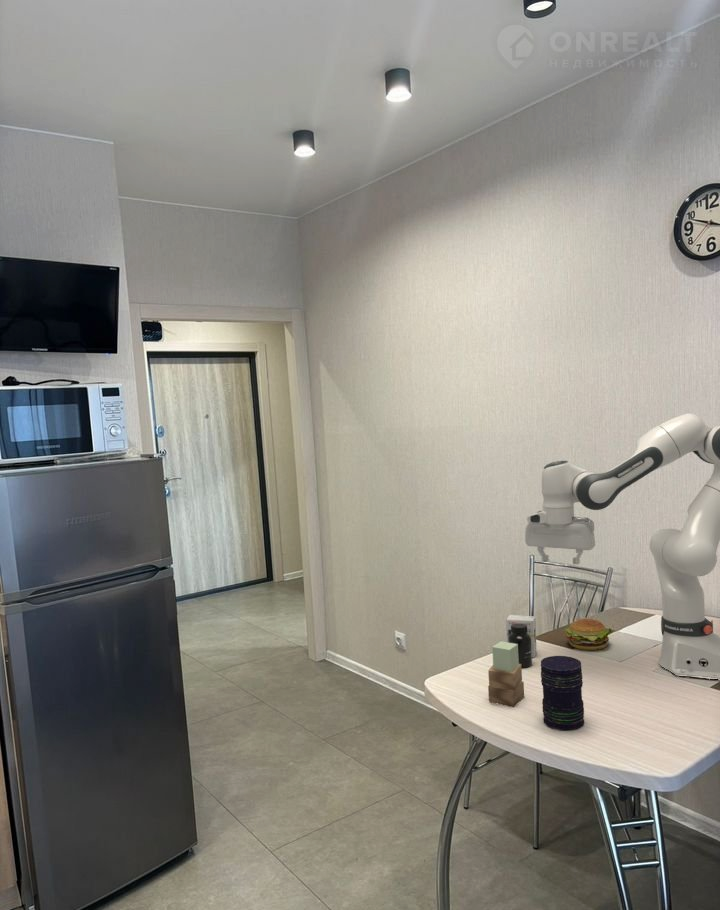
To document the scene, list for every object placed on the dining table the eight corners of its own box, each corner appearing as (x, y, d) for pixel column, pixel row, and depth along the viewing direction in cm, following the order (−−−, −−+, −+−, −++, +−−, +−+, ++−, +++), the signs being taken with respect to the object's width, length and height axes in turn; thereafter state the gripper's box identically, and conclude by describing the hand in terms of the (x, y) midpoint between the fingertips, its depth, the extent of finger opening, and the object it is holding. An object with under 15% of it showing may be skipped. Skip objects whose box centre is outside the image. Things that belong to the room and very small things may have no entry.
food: (557, 647, 223) (556, 623, 223) (577, 635, 234) (576, 611, 233) (599, 655, 214) (598, 630, 213) (617, 642, 224) (616, 618, 224)
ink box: (506, 656, 219) (504, 619, 218) (509, 650, 223) (507, 614, 222) (535, 658, 215) (533, 620, 214) (537, 652, 220) (535, 615, 219)
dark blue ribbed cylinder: (560, 734, 166) (557, 673, 165) (534, 718, 175) (531, 660, 174) (593, 724, 170) (590, 664, 169) (566, 709, 179) (563, 652, 178)
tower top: (522, 680, 188) (521, 664, 188) (515, 690, 182) (514, 673, 182) (496, 677, 192) (495, 661, 191) (489, 686, 185) (488, 670, 185)
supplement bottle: (532, 668, 207) (530, 629, 206) (509, 668, 208) (507, 629, 208) (531, 660, 214) (529, 622, 213) (509, 660, 215) (507, 622, 214)
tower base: (524, 697, 188) (523, 681, 187) (513, 707, 182) (512, 691, 182) (500, 692, 192) (499, 676, 192) (489, 702, 186) (488, 686, 186)
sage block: (518, 666, 187) (517, 644, 186) (510, 672, 183) (509, 649, 182) (501, 662, 190) (500, 641, 189) (493, 668, 186) (492, 646, 186)
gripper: (597, 516, 201) (599, 563, 202) (530, 513, 213) (532, 557, 214) (590, 519, 196) (592, 568, 197) (521, 516, 208) (524, 562, 209)
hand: (560, 562), depth 206 cm, fingers open, 8 cm apart
